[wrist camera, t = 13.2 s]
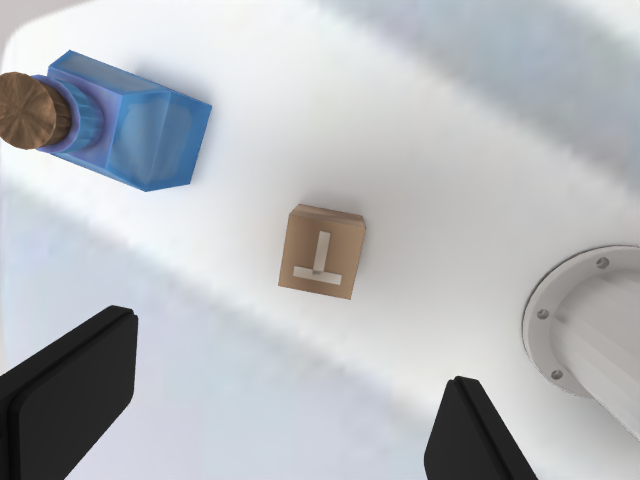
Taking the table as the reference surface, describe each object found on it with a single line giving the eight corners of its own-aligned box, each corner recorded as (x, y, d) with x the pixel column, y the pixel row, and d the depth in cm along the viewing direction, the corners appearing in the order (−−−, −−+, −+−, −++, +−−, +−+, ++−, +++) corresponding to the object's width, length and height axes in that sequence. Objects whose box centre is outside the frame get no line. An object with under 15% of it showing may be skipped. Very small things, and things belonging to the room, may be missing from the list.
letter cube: (362, 215, 27) (365, 229, 22) (349, 275, 28) (350, 300, 23) (299, 204, 27) (288, 214, 22) (289, 263, 28) (277, 286, 23)
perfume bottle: (189, 184, 27) (75, 204, 16) (115, 154, 27) (-56, 153, 16) (212, 106, 26) (103, 65, 14) (134, 74, 26) (-41, 7, 14)
